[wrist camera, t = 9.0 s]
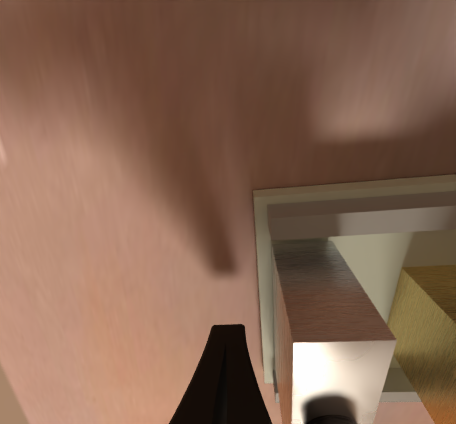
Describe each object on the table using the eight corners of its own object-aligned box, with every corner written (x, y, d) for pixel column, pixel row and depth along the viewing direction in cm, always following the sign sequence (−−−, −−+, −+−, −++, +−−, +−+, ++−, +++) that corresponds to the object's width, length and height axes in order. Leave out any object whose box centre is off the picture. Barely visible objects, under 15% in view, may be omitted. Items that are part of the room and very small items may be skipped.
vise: (631, 160, 9) (1067, 229, 4) (505, 365, 14) (640, 500, 9) (252, 190, 10) (264, 270, 5) (263, 369, 15) (274, 492, 10)
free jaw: (331, 240, 10) (426, 386, 5) (319, 366, 13) (368, 526, 8) (271, 244, 10) (303, 387, 5) (274, 367, 13) (295, 524, 8)
